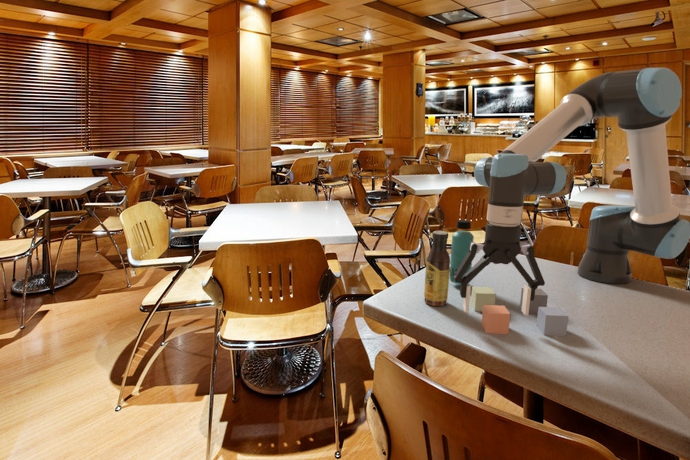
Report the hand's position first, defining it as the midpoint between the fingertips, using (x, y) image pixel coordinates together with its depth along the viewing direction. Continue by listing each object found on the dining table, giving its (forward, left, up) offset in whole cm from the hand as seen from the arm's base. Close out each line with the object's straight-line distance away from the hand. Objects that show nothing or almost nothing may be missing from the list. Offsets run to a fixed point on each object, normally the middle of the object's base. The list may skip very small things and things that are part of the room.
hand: (495, 311), depth 107 cm
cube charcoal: (-13, -13, -4) cm, 19 cm away
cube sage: (0, -13, -4) cm, 14 cm away
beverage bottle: (+3, -30, -5) cm, 31 cm away
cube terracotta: (0, 0, -4) cm, 4 cm away
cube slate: (-13, 0, -4) cm, 14 cm away
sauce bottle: (+12, -15, -5) cm, 20 cm away
